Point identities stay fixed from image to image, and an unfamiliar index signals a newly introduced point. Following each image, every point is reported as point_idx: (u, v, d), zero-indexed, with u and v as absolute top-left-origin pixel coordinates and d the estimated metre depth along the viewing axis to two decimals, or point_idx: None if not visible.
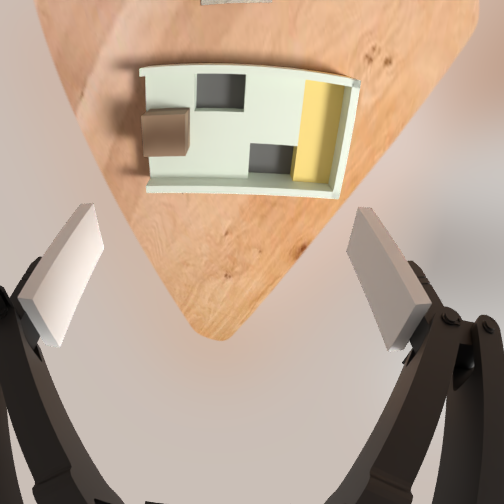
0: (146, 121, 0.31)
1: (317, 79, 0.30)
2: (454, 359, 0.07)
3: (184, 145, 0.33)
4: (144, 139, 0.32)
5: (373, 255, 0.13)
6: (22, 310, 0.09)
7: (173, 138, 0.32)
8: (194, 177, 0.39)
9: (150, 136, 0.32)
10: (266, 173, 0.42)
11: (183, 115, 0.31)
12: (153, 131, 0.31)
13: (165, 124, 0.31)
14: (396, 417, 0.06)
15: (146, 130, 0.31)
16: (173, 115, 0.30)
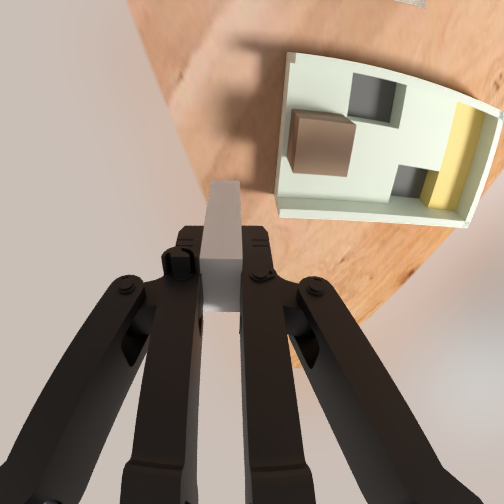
0: (306, 126, 0.24)
1: (475, 106, 0.23)
2: (281, 313, 0.09)
3: (348, 163, 0.26)
4: (298, 150, 0.25)
5: None
6: None
7: (336, 153, 0.25)
8: (332, 199, 0.32)
9: (308, 147, 0.25)
10: (398, 196, 0.35)
11: (354, 126, 0.24)
12: (312, 141, 0.24)
13: (330, 133, 0.24)
14: (246, 400, 0.07)
15: (303, 138, 0.24)
16: (342, 124, 0.23)
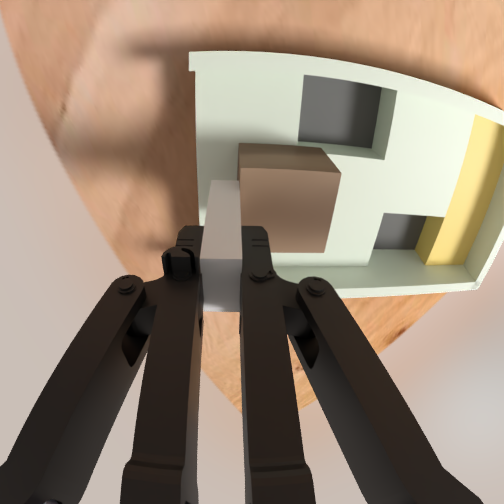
0: (253, 181, 0.15)
1: None
2: (281, 313, 0.09)
3: (326, 233, 0.17)
4: (243, 218, 0.16)
5: None
6: None
7: (308, 219, 0.16)
8: (282, 266, 0.23)
9: (259, 213, 0.16)
10: (384, 249, 0.26)
11: (338, 175, 0.15)
12: (265, 203, 0.15)
13: (296, 189, 0.15)
14: (245, 400, 0.07)
15: (250, 200, 0.15)
16: (317, 173, 0.15)
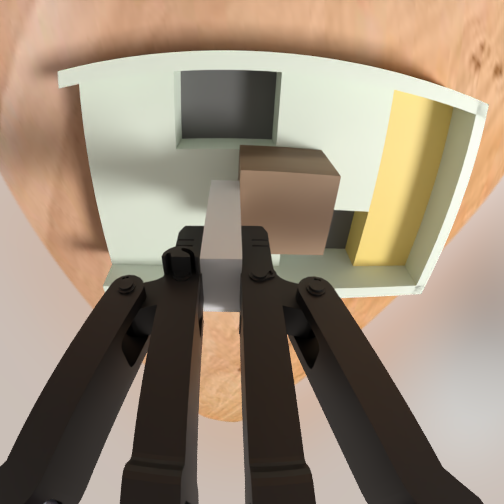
0: (252, 183, 0.15)
1: (426, 94, 0.13)
2: (281, 313, 0.09)
3: (325, 236, 0.17)
4: (243, 220, 0.16)
5: None
6: None
7: (307, 222, 0.16)
8: None
9: (258, 215, 0.16)
10: None
11: (337, 178, 0.15)
12: (265, 205, 0.16)
13: (295, 192, 0.15)
14: (245, 400, 0.07)
15: (250, 202, 0.15)
16: (316, 176, 0.15)
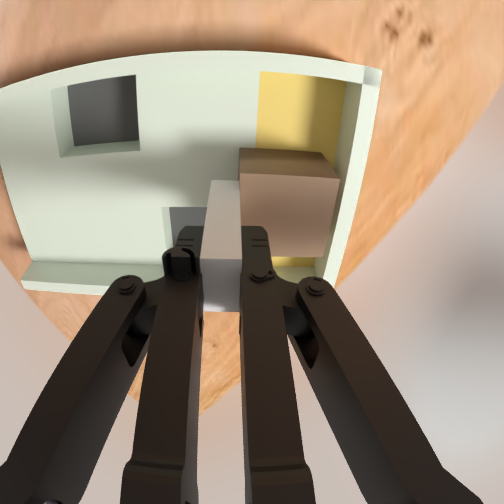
0: (252, 186, 0.15)
1: (281, 68, 0.13)
2: (281, 313, 0.09)
3: (325, 238, 0.17)
4: (243, 223, 0.16)
5: None
6: None
7: (306, 224, 0.16)
8: (86, 263, 0.22)
9: (258, 218, 0.16)
10: None
11: (336, 181, 0.15)
12: (264, 208, 0.16)
13: (295, 195, 0.15)
14: (245, 400, 0.07)
15: (250, 205, 0.16)
16: (315, 179, 0.15)
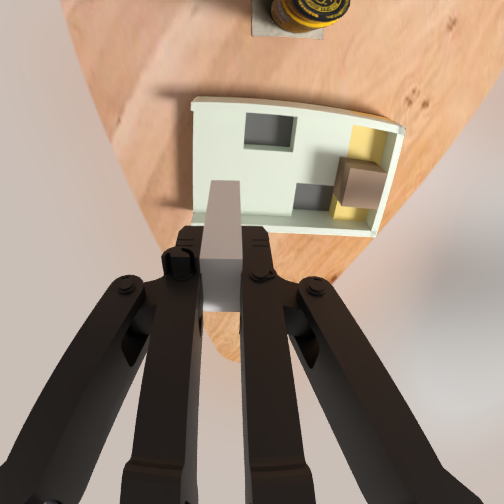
0: (354, 174, 0.34)
1: (367, 125, 0.32)
2: (282, 313, 0.09)
3: (379, 200, 0.36)
4: (347, 190, 0.35)
5: None
6: None
7: (372, 192, 0.35)
8: None
9: (353, 188, 0.35)
10: (306, 210, 0.43)
11: (386, 174, 0.34)
12: (357, 184, 0.34)
13: (369, 179, 0.34)
14: (246, 400, 0.07)
15: (351, 182, 0.34)
16: (378, 172, 0.34)
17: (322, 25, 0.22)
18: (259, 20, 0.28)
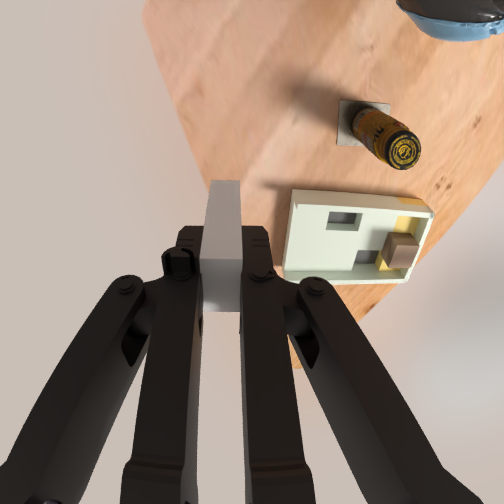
0: (398, 248, 0.49)
1: (410, 215, 0.46)
2: (281, 313, 0.09)
3: (412, 262, 0.51)
4: (393, 258, 0.50)
5: None
6: None
7: (408, 258, 0.50)
8: (316, 271, 0.56)
9: (397, 257, 0.50)
10: (359, 263, 0.58)
11: (418, 246, 0.49)
12: (399, 254, 0.49)
13: (408, 250, 0.49)
14: (246, 400, 0.07)
15: (396, 253, 0.49)
16: (414, 246, 0.48)
17: None
18: (343, 132, 0.43)
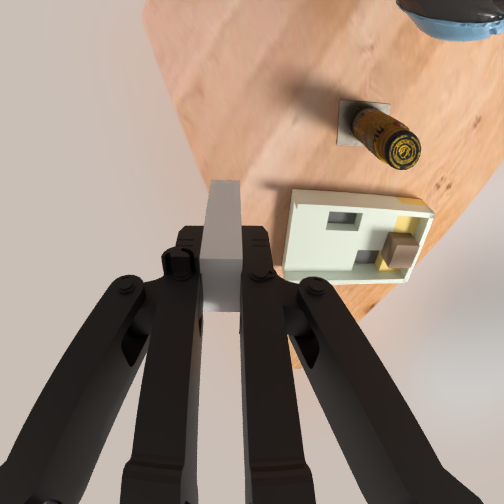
0: (398, 248, 0.49)
1: (410, 215, 0.46)
2: (282, 313, 0.09)
3: (412, 262, 0.51)
4: (393, 258, 0.50)
5: None
6: None
7: (408, 258, 0.50)
8: (316, 271, 0.56)
9: (397, 257, 0.50)
10: (360, 263, 0.58)
11: (418, 246, 0.49)
12: (400, 254, 0.49)
13: (408, 250, 0.49)
14: (246, 400, 0.07)
15: (396, 253, 0.49)
16: (414, 246, 0.48)
17: None
18: (343, 132, 0.43)
